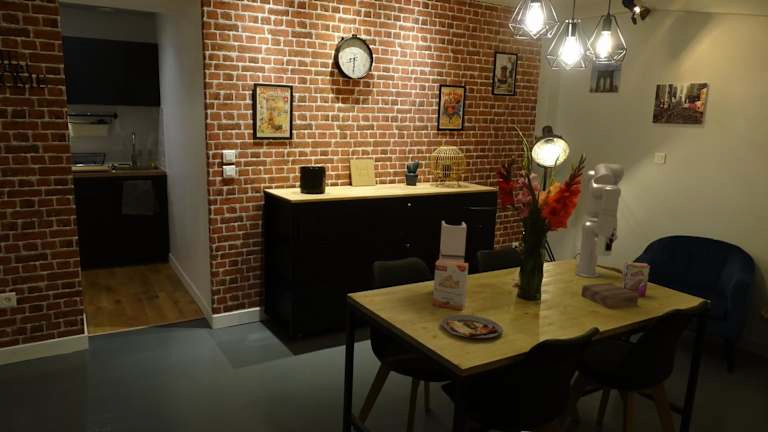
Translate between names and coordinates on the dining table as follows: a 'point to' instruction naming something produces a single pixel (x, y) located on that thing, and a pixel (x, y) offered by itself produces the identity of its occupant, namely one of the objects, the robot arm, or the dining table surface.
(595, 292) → the walnut block
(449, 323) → the food plate
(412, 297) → the dining table surface
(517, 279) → the lily
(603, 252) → the sage block
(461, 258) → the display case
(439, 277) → the cracker box
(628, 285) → the candy bar box
